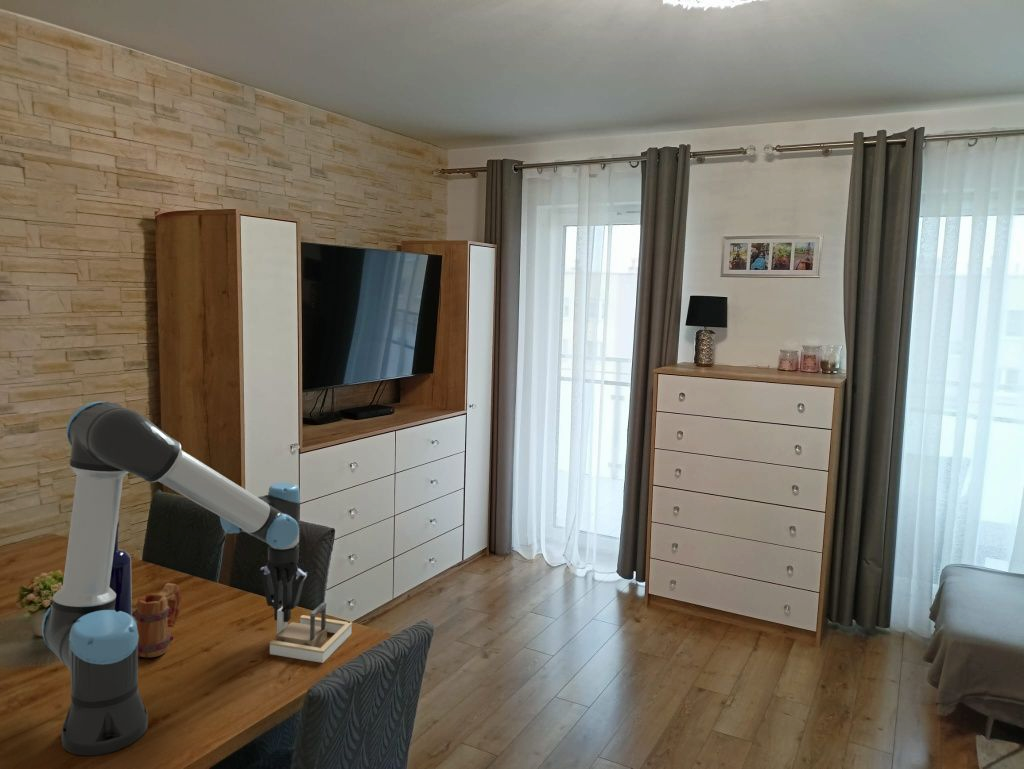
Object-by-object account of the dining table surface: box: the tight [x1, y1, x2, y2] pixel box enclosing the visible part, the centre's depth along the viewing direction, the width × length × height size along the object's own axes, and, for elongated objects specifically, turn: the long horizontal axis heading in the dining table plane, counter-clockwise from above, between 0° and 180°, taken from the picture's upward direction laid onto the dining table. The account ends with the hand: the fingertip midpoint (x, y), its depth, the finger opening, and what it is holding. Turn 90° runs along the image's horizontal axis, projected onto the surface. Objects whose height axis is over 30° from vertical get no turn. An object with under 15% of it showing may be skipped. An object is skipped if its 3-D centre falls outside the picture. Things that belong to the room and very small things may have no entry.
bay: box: [269, 614, 353, 664], centre depth 190 cm, size 17×14×3 cm
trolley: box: [275, 602, 328, 648], centre depth 190 cm, size 10×10×10 cm
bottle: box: [109, 521, 133, 617], centre depth 193 cm, size 9×9×30 cm
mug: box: [132, 582, 182, 658], centre depth 183 cm, size 15×8×15 cm, turn 168°
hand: (282, 632), depth 192 cm, fingers closed
